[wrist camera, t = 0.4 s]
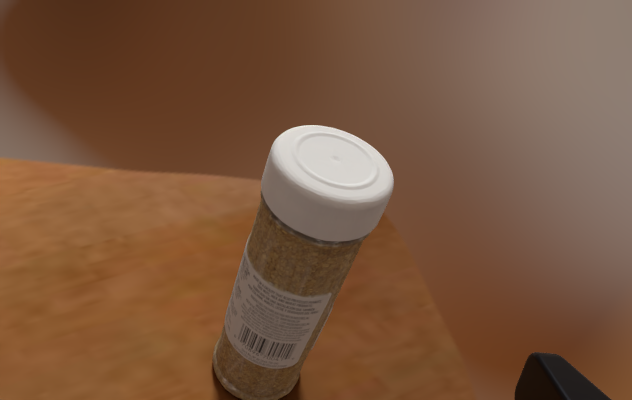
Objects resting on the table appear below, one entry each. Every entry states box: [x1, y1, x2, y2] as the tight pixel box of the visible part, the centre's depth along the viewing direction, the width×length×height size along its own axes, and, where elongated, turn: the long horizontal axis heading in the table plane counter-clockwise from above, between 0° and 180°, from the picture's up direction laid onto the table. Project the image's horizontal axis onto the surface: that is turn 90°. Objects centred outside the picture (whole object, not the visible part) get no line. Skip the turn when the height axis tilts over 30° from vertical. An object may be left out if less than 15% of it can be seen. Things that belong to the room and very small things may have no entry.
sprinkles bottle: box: [213, 125, 394, 400], centre depth 22 cm, size 5×5×14 cm
